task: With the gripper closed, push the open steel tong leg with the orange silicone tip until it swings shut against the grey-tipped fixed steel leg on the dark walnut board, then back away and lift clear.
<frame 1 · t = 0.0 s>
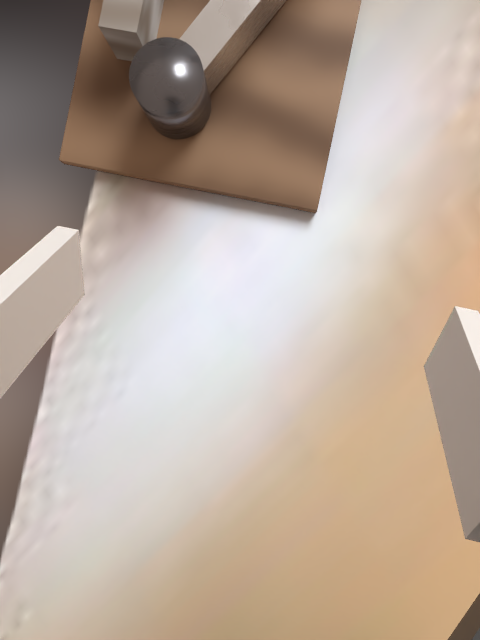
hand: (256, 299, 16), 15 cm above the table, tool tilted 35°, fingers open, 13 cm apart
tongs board: (223, 16, 31), on the table
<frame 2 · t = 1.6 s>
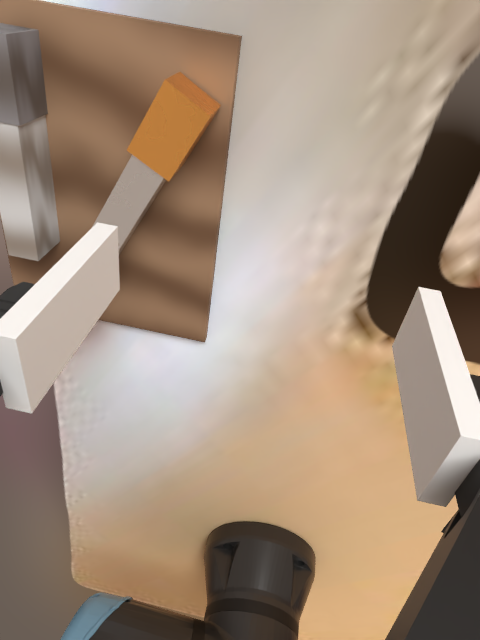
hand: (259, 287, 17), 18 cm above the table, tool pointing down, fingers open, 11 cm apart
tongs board: (108, 195, 35), on the table
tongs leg: (121, 216, 33), point 3 cm above the table, hinge at -28.0°
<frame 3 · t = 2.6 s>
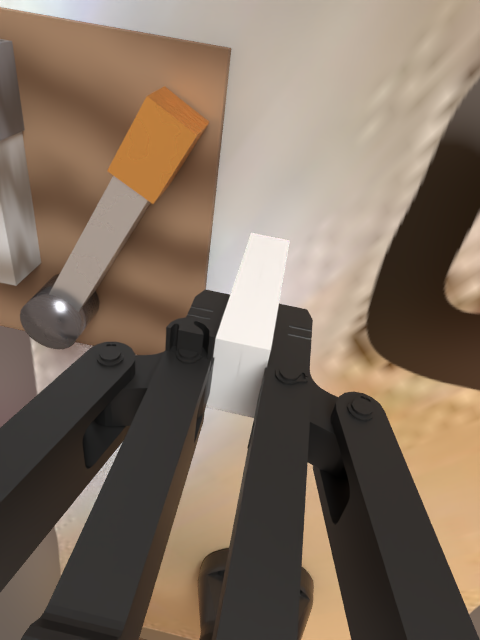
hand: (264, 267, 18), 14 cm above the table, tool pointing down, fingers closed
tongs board: (91, 215, 33), on the table
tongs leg: (103, 238, 31), point 3 cm above the table, hinge at -28.0°
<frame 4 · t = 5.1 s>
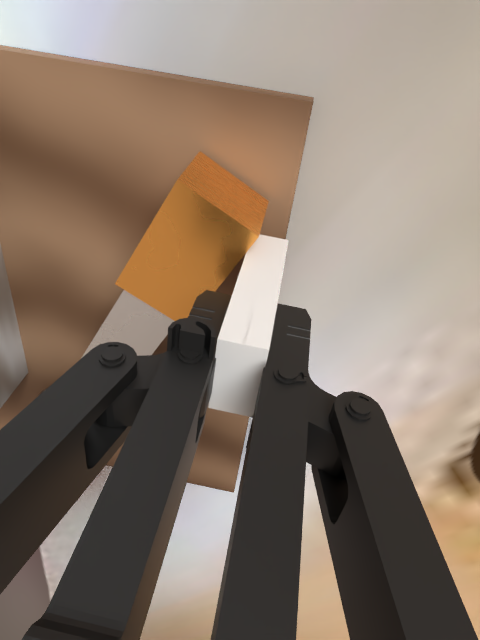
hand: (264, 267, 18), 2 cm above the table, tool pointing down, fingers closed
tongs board: (95, 315, 24), on the table
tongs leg: (111, 359, 21), point 3 cm above the table, hinge at -26.9°, touching gripper
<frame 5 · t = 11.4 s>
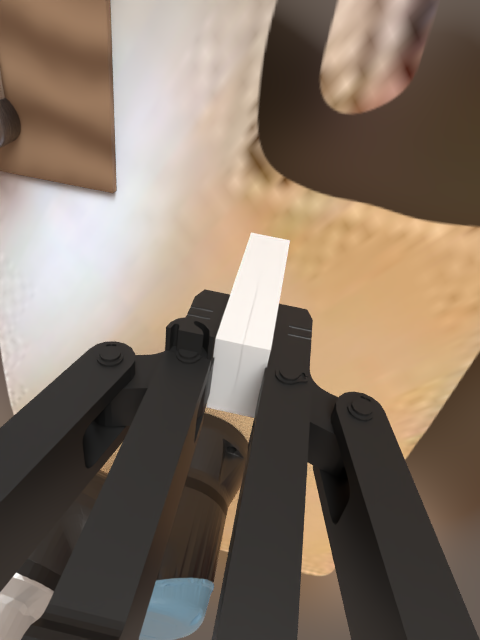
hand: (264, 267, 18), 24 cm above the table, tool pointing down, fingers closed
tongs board: (4, 27, 37), on the table
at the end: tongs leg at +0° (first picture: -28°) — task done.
